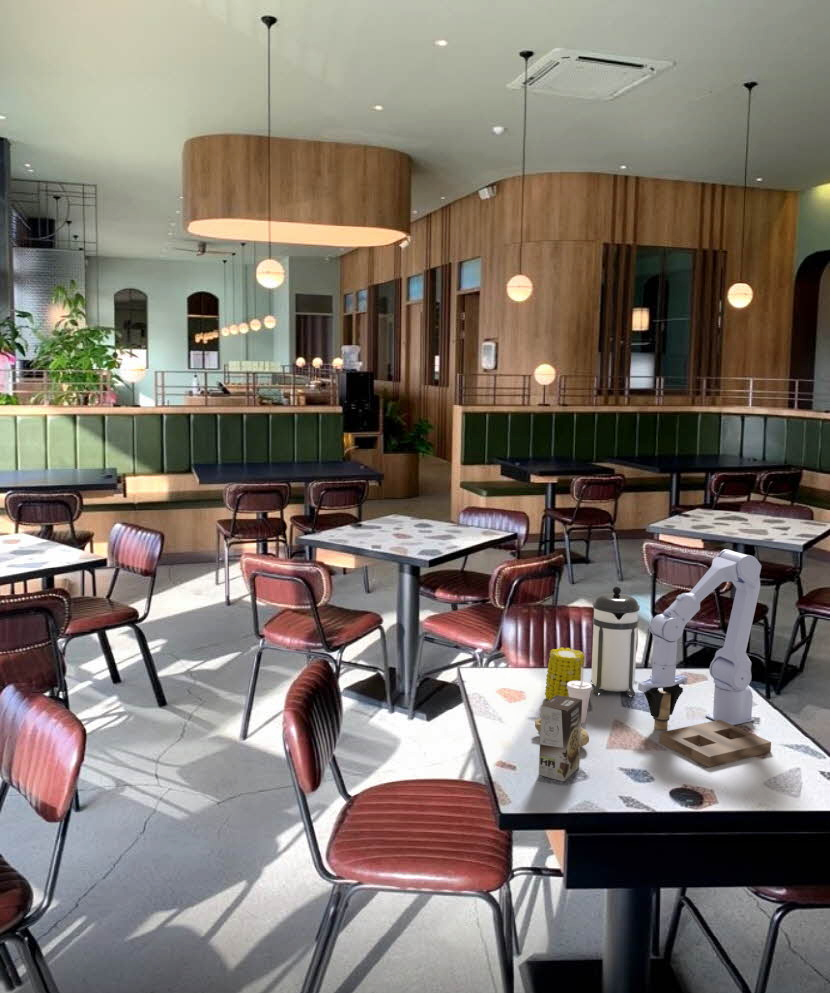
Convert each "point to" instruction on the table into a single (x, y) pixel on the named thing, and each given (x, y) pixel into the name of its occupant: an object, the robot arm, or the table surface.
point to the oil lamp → (584, 734)
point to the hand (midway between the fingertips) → (661, 715)
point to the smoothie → (580, 693)
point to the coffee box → (560, 737)
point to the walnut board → (714, 743)
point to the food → (563, 670)
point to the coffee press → (614, 642)
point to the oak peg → (663, 712)
